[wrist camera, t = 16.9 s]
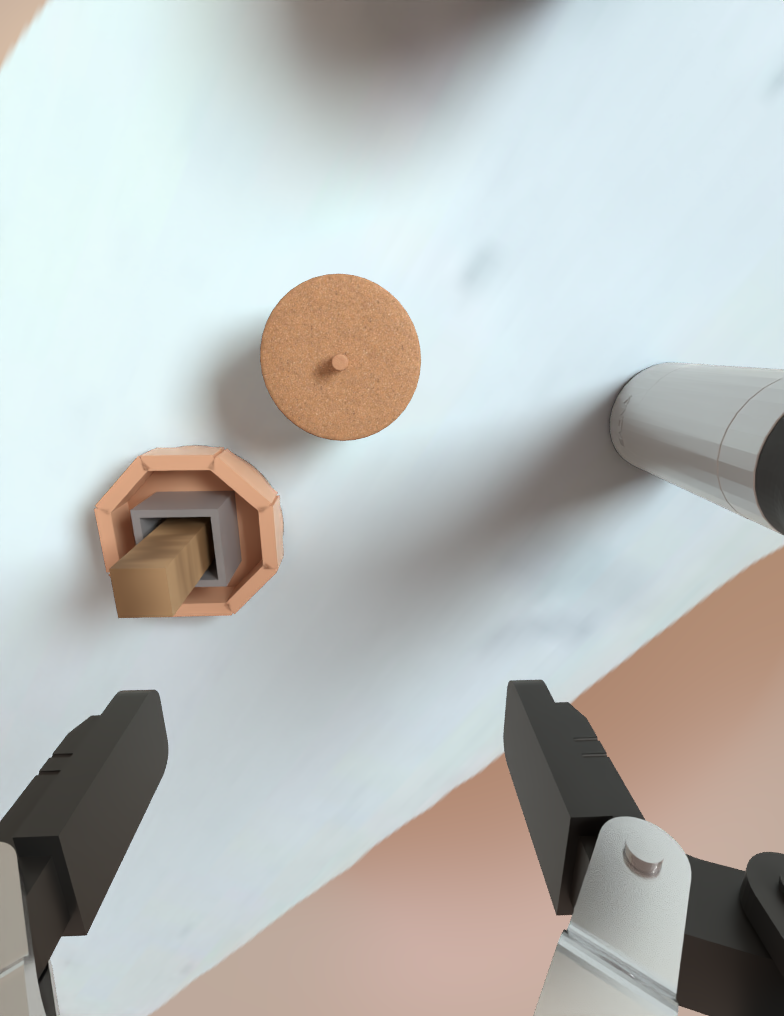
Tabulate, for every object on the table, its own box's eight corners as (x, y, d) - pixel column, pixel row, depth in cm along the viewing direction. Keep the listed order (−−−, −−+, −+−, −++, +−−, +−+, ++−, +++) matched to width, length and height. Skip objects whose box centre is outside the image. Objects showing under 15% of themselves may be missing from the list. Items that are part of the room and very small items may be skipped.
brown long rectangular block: (219, 508, 43) (165, 568, 32) (223, 546, 44) (172, 616, 33) (177, 509, 43) (109, 568, 32) (183, 547, 44) (118, 617, 33)
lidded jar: (361, 449, 43) (359, 476, 34) (253, 372, 41) (221, 380, 32) (438, 343, 41) (457, 344, 32) (328, 255, 38) (316, 229, 30)
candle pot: (277, 444, 43) (263, 459, 37) (288, 592, 47) (277, 626, 41) (109, 445, 42) (68, 462, 36) (136, 595, 47) (103, 630, 41)
